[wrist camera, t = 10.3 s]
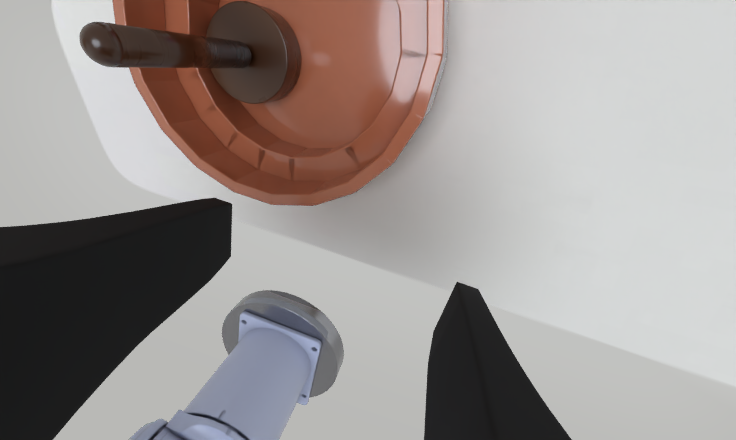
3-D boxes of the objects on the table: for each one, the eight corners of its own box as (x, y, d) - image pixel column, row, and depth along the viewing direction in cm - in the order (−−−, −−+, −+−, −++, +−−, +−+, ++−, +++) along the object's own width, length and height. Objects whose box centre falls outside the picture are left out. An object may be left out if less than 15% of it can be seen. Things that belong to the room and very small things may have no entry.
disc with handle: (274, 118, 19) (129, 156, 10) (212, 61, 18) (9, 54, 10) (317, 50, 16) (178, 30, 8) (249, -16, 16) (28, -108, 8)
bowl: (401, 205, 20) (385, 243, 15) (198, 139, 21) (131, 157, 17) (497, -101, 13) (518, -189, 9) (192, -161, 15) (78, -260, 10)
